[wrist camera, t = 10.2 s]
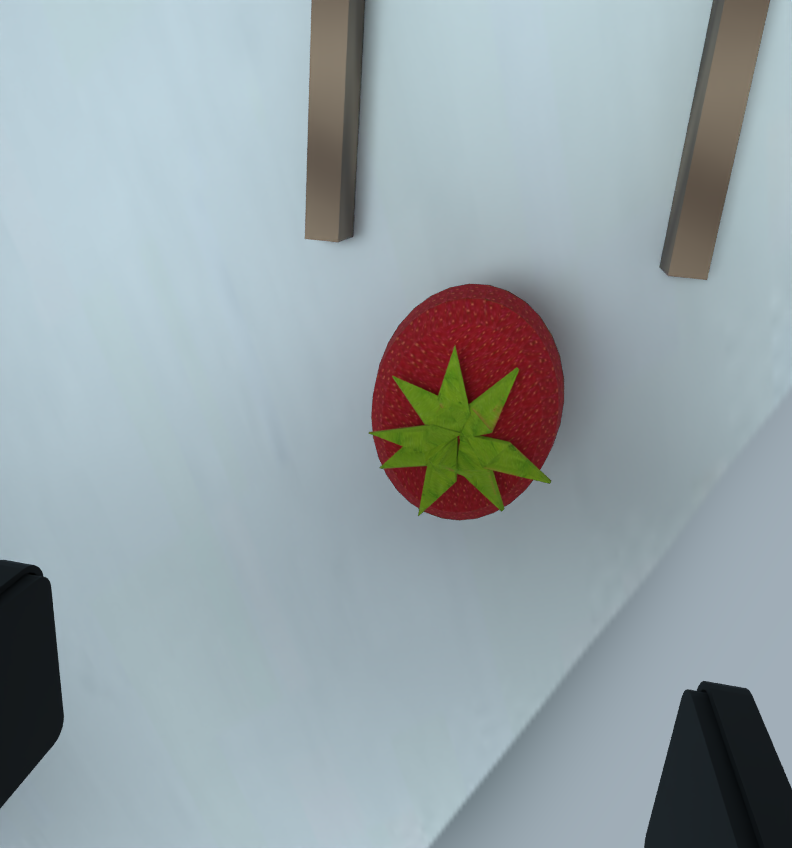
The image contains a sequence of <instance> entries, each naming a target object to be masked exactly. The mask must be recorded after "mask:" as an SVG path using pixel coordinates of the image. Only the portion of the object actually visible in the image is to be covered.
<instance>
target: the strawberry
mask: <svg viewBox="0 0 792 848" xmlns="http://www.w3.org/2000/svg"><path fill="white" fill-rule="evenodd" d="M563 404H564V376H563V371H562V365H561V360H560V355H559V352H558V350H557V347H556V345H555V342H554V339H553V337H552V335H551V333H550V331H549V330H548V328H547V327H546V325H545V323H544V322H543V320H542V319H541V317H540V316H539V315H538V314H537V313H536V312H535V311H534V310H533V309H532V308H531V307H530V306H529V305H528V304H527V303H526V302H525V301H523V300H522V299H520V298H519V297H517V296H515V295H514V294H512V293H510V292H509V291H506V290H503V289H500V288H497V287H494V286H491V285H480V284H466V285H461V286H456V287H450V288H448V289H446V290H443V291H441V292H439V293H437V294H434V295H432V296H430V297H429V298H428V299H426V300H425V301H424V302H422V303H421V304H420V305H418V306H417V307H415V308H414V309H413V310H412V311H411V312H410V314H409V315H408V316H407V317H406V318H405V319H404V320H403V321H402V322H401V324H400V325H399V326H398V328H397V330H396V331H395V333H394V334H393V336H392V338H391V339H390V341H389V342H388V345H387V347H386V349H385V352H384V354H383V357H382V359H381V362H380V365H379V369H378V374H377V378H376V382H375V387H374V392H373V401H372V416H371V418H372V429H373V432H369V434H372V435H373V438H374V442H375V446H376V450H377V453H378V457H379V460H380V462H381V464H382V466H381V467H380V468H381V469H384V470H385V473H386V475H387V476H388V478H389V479H390V481H391V482H392V483H393V485H394V486H395V488H396V489H397V490H398V492H400V493H401V494H402V495H403V496H404V497H405V498H406V499H407V500H408V501H409V502H410V503H411V504H413V505H414V506H416V507H418V508H419V513H418V516H419V515H420V514H422V513H423V512H426V513H428V514H431V515H434V516H437V517H440V518H444V519H452V520H467V519H476V518H480V517H483V516H486V515H489V514H492V513H494V512H496V511H498V510H500V511H501V512H502V511H503V510H504V509H505V508H504V507H505V506H506V505H508V504H510V503H511V502H512V501H513V500H515V499H516V498H517V497H518V496H519V495H520V494H521V493H523V492H524V491H525V490H526V489H527V487H528V486H529V485H530V483H531V482H532V481H533V480H536V481H541V482H545V483H549V484H550V483H551V480H550V479H549V478H548V477H547V476H546V475H545V474H544V473H543V472H541V471H540V469H541V467H542V466H543V464H544V462H545V460H546V458H547V456H548V454H549V452H550V450H551V448H552V446H553V444H554V441H555V438H556V435H557V432H558V429H559V426H560V422H561V416H562V410H563Z"/></svg>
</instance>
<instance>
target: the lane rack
mask: <svg viewBox="0 0 792 848" xmlns="http://www.w3.org/2000/svg"><path fill="white" fill-rule="evenodd" d="M769 3H770V0H713V4H712V9H711V14H710V19H709V24H708V29H707V34H706V39H705V44H704V49H703V54H702V59H701V64H700V69H699V74H698V79H697V84H696V89H695V94H694V99H693V104H692V108H691V113H690V118H689V123H688V128H687V133H686V138H685V143H684V148H683V153H682V158H681V163H680V168H679V173H678V178H677V183H676V188H675V193H674V198H673V203H672V208H671V213H670V218H669V223H668V228H667V233H666V238H665V243H664V248H663V253H662V258H661V263H660V268H661V269H662V270H663V271H664V272H665V273H666V274H667V275H668V276H674V277H684V278H693V279H703V280H707V278H708V273H709V269H710V264H711V260H712V255H713V251H714V247H715V242H716V238H717V233H718V229H719V224H720V220H721V216H722V211H723V207H724V202H725V198H726V193H727V189H728V184H729V180H730V176H731V171H732V167H733V162H734V158H735V153H736V149H737V145H738V140H739V136H740V131H741V127H742V122H743V118H744V114H745V109H746V105H747V100H748V96H749V91H750V87H751V83H752V78H753V74H754V69H755V65H756V60H757V56H758V51H759V47H760V43H761V38H762V34H763V29H764V25H765V20H766V16H767V12H768V7H769ZM364 9H365V0H312V8H311V43H310V78H309V113H308V147H307V182H306V217H305V239H311V240H321V241H331V242H340V241H343V240H345V239H348V238H350V237H353V222H354V203H355V184H356V164H357V145H358V125H359V106H360V87H361V67H362V48H363V28H364Z"/></svg>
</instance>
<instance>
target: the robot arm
mask: <svg viewBox="0 0 792 848" xmlns="http://www.w3.org/2000/svg"><path fill="white" fill-rule="evenodd" d="M63 722H64V713H63V703H62V693H61V683H60V673H59V662H58V652H57V642H56V632H55V621H54V611H53V601H52V591H51V584H50V581H49V580H48V578H46V577H43V573H42V571H41V570H40V568H39V567H37V566H35V565H30V564H24V563H19V562H13V561H7V560H0V808H1V807H2V806H3V805H4V803H5V802H6V801H7V800H8V799H9V797H10V796H11V795H12V794H13V793H14V791H15V790H16V789H17V788H18V787H19V785H20V784H21V783H22V782H23V781H24V779H25V778H26V777H27V776H28V775H29V774H30V772H31V771H32V770H33V769H34V768H35V766H36V765H37V764H38V763H39V762H40V760H41V759H42V758H43V757H44V756H45V754H46V753H47V752H48V751H49V750H50V748H51V747H52V746H53V745H54V743H55V742H56V741H57V739H58V737H59V735H60V733H61V730H62V727H63ZM644 848H792V788H791V786H790V784H789V782H788V779H787V777H786V774H785V772H784V769H783V767H782V765H781V762H780V760H779V758H778V755H777V753H776V751H775V748H774V746H773V743H772V741H771V739H770V736H769V734H768V732H767V729H766V727H765V724H764V722H763V720H762V717H761V715H760V713H759V710H758V708H757V706H756V703H755V701H754V698H753V696H752V694H751V693H750V691H749V690H748V689H746V688H741V687H736V686H729V685H724V684H718V683H712V682H706V681H703V682H701V683H700V685H699V686H698V689H697V691H694V690H685V691H684V693H683V695H682V698H681V702H680V706H679V710H678V714H677V718H676V721H675V725H674V729H673V733H672V737H671V741H670V745H669V748H668V752H667V756H666V760H665V764H664V768H663V772H662V775H661V779H660V783H659V787H658V791H657V795H656V798H655V802H654V806H653V810H652V814H651V818H650V821H649V826H648V829H647V833H646V838H645V846H644Z"/></svg>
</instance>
